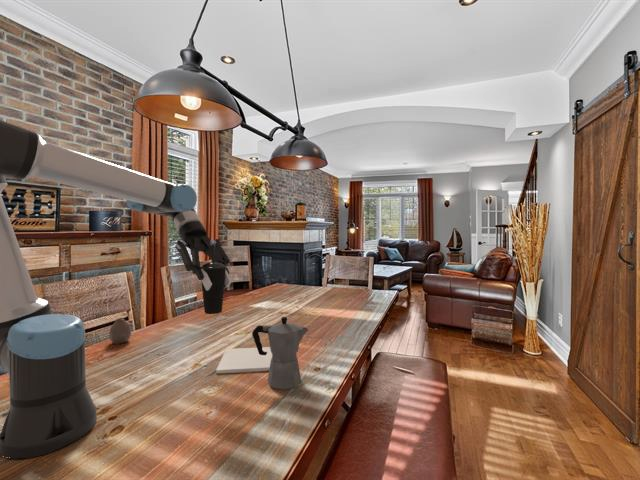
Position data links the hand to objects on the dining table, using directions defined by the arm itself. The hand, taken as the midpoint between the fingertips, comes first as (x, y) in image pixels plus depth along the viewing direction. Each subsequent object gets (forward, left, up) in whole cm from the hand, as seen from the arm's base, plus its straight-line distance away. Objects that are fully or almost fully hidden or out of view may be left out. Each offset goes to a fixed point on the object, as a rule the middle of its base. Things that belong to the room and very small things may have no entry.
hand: (219, 285), depth 88 cm
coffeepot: (-6, -17, -26) cm, 32 cm away
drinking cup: (+3, +2, -8) cm, 9 cm away
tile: (+9, -7, -26) cm, 28 cm away
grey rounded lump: (+31, +42, -26) cm, 59 cm away
